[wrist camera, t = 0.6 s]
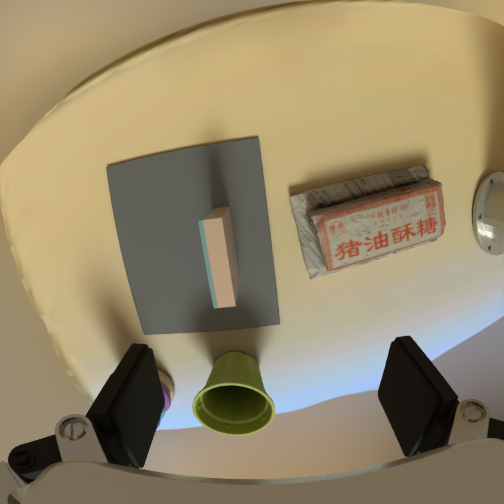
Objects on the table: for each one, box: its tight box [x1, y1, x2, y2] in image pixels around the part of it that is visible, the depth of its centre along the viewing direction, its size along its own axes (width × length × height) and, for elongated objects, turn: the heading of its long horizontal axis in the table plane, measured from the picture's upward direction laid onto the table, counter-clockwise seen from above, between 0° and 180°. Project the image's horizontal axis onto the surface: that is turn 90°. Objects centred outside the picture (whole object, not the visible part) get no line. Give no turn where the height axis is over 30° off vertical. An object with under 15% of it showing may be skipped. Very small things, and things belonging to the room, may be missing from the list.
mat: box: [106, 138, 280, 335], centre depth 33 cm, size 18×22×1 cm
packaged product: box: [290, 165, 446, 279], centre depth 30 cm, size 18×5×10 cm
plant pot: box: [192, 351, 275, 436], centre depth 33 cm, size 9×9×9 cm
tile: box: [198, 206, 240, 308], centre depth 29 cm, size 2×8×8 cm, turn 8°
